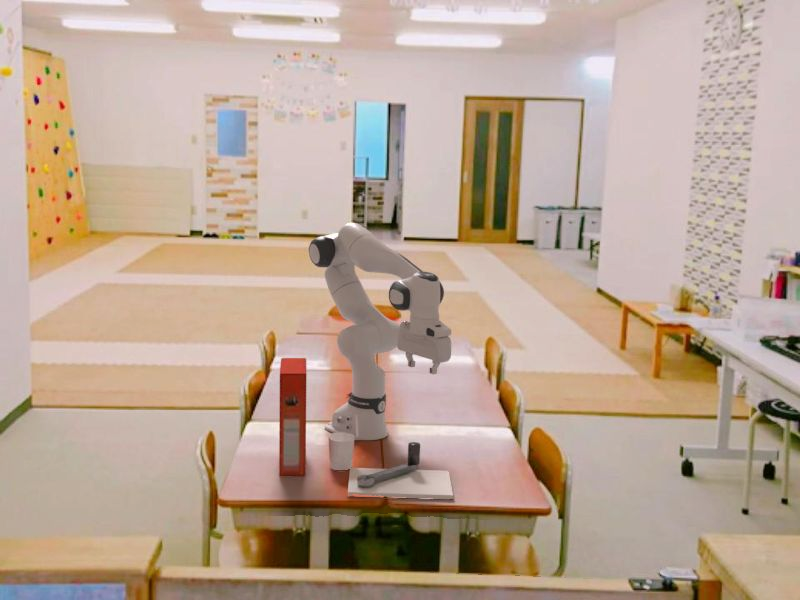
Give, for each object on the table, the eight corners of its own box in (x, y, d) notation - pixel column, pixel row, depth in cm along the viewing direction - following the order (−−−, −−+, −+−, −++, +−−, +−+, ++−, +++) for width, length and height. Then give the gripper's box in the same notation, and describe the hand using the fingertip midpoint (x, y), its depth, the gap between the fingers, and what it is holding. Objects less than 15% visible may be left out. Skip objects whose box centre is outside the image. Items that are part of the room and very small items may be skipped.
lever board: (347, 497, 247) (347, 491, 246) (349, 472, 264) (350, 467, 264) (452, 500, 248) (453, 494, 247) (448, 475, 265) (448, 470, 265)
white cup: (334, 473, 263) (334, 442, 261) (324, 464, 270) (324, 434, 268) (357, 470, 266) (358, 439, 264) (347, 461, 273) (348, 431, 271)
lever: (364, 488, 248) (365, 463, 246) (353, 483, 251) (354, 457, 250) (423, 469, 264) (424, 445, 262) (411, 464, 267) (412, 440, 266)
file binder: (278, 476, 259) (279, 373, 253) (279, 455, 276) (281, 357, 270) (305, 476, 260) (307, 373, 254) (305, 455, 277) (307, 358, 271)
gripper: (393, 320, 268) (391, 364, 271) (440, 333, 253) (438, 379, 256) (408, 318, 272) (406, 361, 275) (455, 331, 258) (453, 376, 260)
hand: (422, 370), depth 265 cm, fingers open, 8 cm apart
